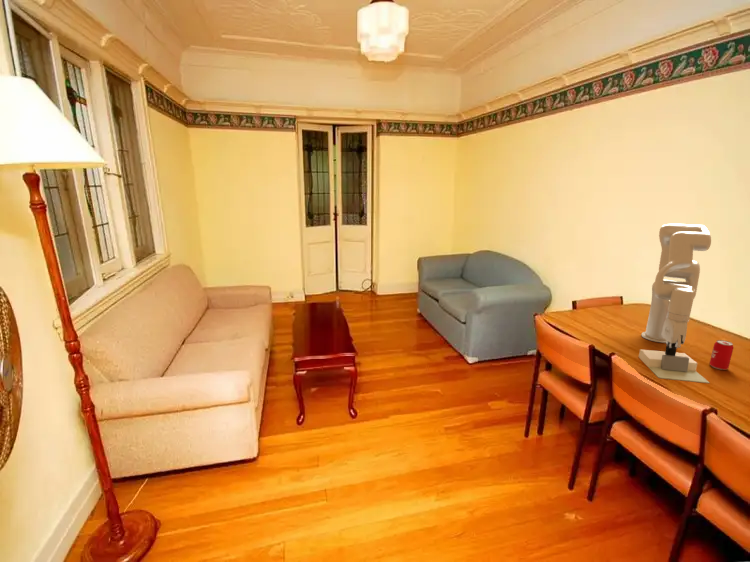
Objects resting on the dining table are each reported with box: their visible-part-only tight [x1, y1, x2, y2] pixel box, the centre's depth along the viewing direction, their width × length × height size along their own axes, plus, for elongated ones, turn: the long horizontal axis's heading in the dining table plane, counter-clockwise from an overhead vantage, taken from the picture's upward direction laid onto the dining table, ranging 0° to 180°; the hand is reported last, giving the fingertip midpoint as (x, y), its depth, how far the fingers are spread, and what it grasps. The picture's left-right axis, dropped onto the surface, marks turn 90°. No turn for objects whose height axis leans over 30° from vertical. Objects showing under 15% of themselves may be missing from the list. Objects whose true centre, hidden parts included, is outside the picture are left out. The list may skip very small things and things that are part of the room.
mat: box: [647, 366, 710, 384], centre depth 158 cm, size 10×18×1 cm, turn 76°
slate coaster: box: [661, 355, 689, 372], centre depth 161 cm, size 6×9×2 cm
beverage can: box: [709, 339, 734, 371], centre depth 163 cm, size 6×6×12 cm
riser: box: [638, 349, 698, 372], centre depth 167 cm, size 10×18×4 cm, turn 76°
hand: (669, 355), depth 165 cm, fingers closed
